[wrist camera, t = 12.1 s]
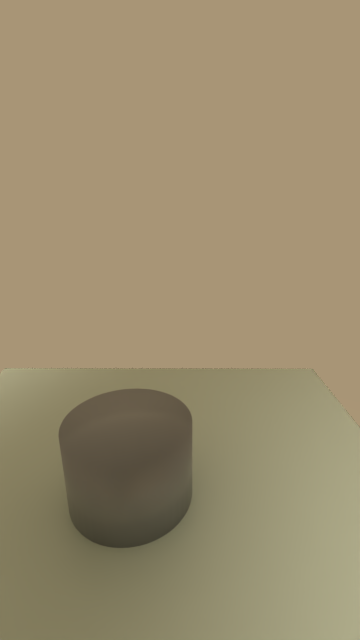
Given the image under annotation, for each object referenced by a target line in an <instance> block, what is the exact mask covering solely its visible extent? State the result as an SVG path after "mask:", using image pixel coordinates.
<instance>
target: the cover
mask: <svg viewBox="0 0 360 640" xmlns="http://www.w3.org/2000/svg"><path fill="white" fill-rule="evenodd" d="M0 640H360V427H359V426H358V424H357V423H356V422H355V421H354V419H353V418H352V417H351V416H350V415H349V413H348V412H347V411H346V410H345V409H344V407H343V406H342V405H341V404H340V402H339V401H338V400H337V399H336V397H335V396H334V395H333V394H332V392H330V390H329V389H328V387H327V386H326V385H325V384H324V383H323V381H322V380H321V379H320V378H319V376H318V375H317V374H316V373H315V371H314V370H313V369H93V368H92V369H90V368H89V369H87V368H84V369H83V368H80V369H77V368H75V369H74V368H73V369H72V368H71V369H70V368H64V369H63V368H57V369H56V368H49V369H48V368H43V369H42V368H39V369H38V368H37V369H36V368H34V369H33V368H30V369H28V368H24V369H23V368H6V369H4V370H3V371H2V372H1V373H0Z"/></svg>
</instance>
